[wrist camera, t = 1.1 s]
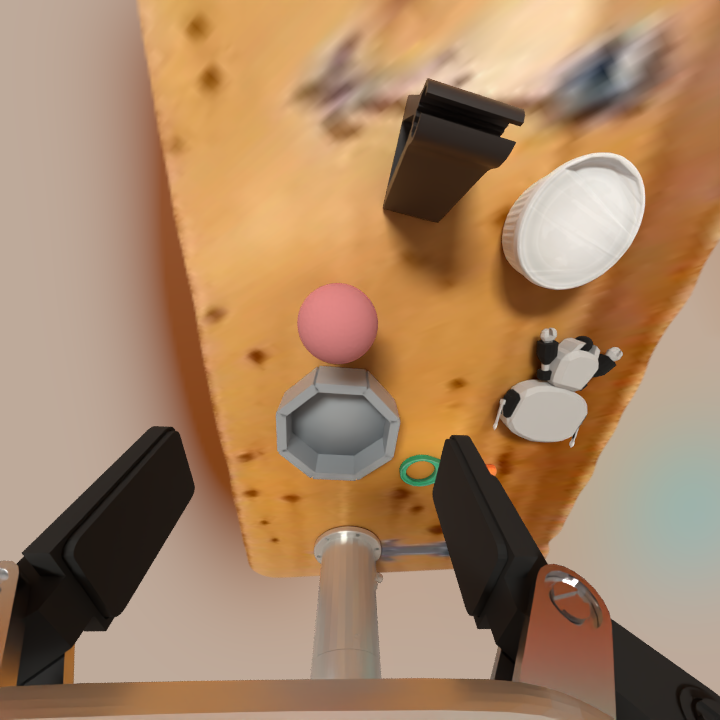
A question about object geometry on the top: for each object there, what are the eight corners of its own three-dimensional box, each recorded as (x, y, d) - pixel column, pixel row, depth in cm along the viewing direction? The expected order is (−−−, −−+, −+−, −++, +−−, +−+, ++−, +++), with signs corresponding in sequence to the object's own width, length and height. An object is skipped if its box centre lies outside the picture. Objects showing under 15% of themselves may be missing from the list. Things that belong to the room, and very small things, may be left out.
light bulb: (312, 330, 33) (292, 377, 22) (310, 269, 30) (286, 290, 19) (369, 332, 34) (378, 379, 23) (373, 272, 31) (385, 294, 20)
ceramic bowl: (413, 420, 39) (420, 441, 35) (334, 470, 43) (333, 495, 39) (344, 345, 34) (343, 360, 30) (261, 410, 38) (250, 431, 34)
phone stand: (407, 96, 24) (453, -15, 13) (469, 116, 25) (560, 27, 14) (381, 208, 28) (400, 192, 17) (436, 223, 29) (487, 217, 18)
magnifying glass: (397, 480, 45) (399, 489, 44) (400, 453, 43) (402, 461, 41) (487, 478, 46) (492, 487, 44) (495, 451, 43) (500, 460, 42)
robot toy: (528, 318, 34) (478, 416, 39) (553, 326, 30) (494, 435, 35) (608, 342, 36) (550, 433, 41) (642, 353, 32) (574, 453, 37)
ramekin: (616, 167, 27) (672, 153, 22) (576, 282, 32) (615, 291, 27) (506, 164, 27) (539, 149, 22) (481, 280, 31) (505, 289, 27)
